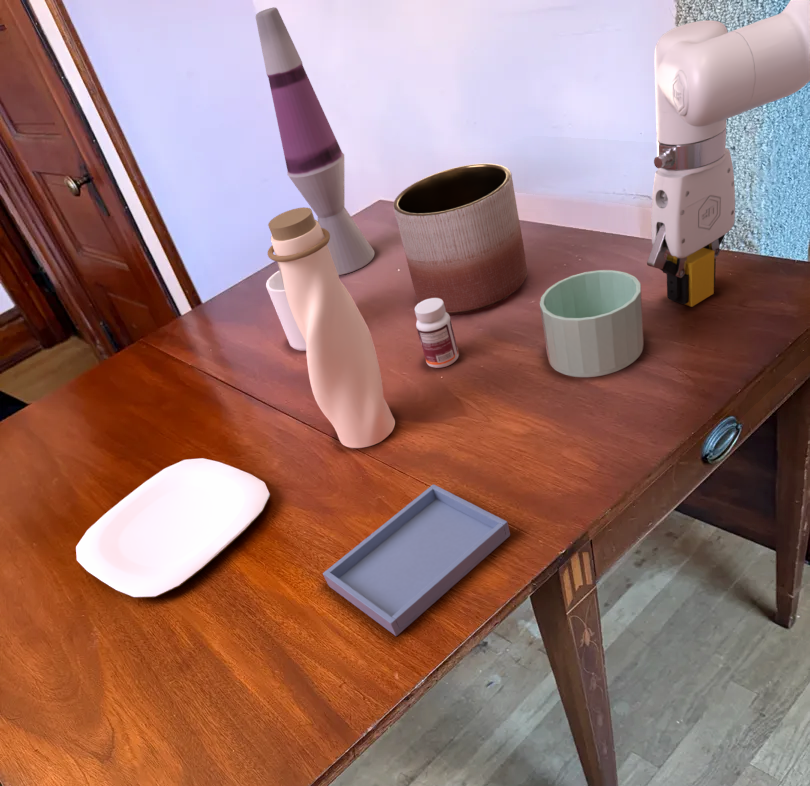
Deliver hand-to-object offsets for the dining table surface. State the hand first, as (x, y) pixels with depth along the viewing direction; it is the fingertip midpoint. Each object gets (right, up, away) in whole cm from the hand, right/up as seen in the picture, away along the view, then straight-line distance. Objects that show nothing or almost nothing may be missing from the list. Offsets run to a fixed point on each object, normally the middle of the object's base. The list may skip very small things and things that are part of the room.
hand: (691, 291), depth 100 cm
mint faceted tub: (-14, -9, -3) cm, 16 cm away
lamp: (-49, +19, +40) cm, 66 cm away
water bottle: (-44, -19, -2) cm, 48 cm away
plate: (-66, -32, -7) cm, 74 cm away
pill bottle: (-33, -8, +6) cm, 34 cm away
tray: (-37, -35, -22) cm, 56 cm away
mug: (-52, +1, +22) cm, 56 cm away
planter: (-27, +7, +19) cm, 34 cm away
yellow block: (0, 0, 0) cm, 1 cm away
